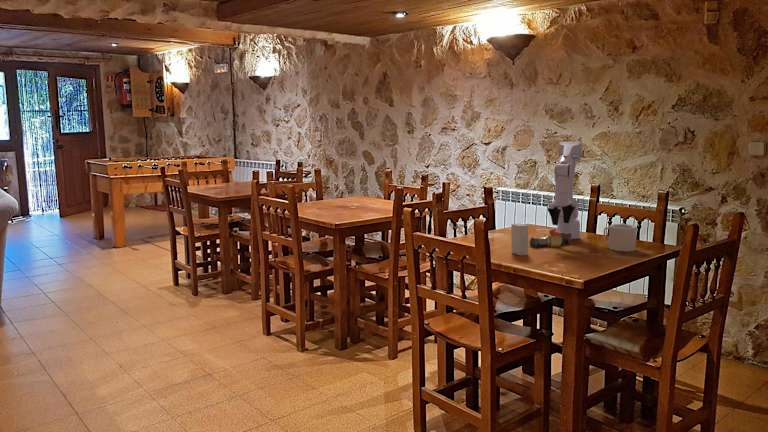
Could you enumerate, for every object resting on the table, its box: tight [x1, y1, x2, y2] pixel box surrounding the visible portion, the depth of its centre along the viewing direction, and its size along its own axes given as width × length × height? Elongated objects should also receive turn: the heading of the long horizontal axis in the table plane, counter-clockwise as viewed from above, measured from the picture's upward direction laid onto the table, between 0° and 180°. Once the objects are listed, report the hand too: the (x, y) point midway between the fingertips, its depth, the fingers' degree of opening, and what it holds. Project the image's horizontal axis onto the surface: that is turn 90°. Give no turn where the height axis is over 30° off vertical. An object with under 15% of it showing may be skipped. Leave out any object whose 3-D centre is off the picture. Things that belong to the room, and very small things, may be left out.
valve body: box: [542, 233, 563, 247], centre depth 265 cm, size 7×5×5 cm
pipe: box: [529, 236, 572, 249], centre depth 265 cm, size 18×5×5 cm, turn 112°
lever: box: [548, 228, 571, 239], centre depth 260 cm, size 12×3×2 cm, turn 22°
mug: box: [602, 223, 638, 253], centre depth 257 cm, size 14×11×10 cm
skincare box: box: [511, 223, 529, 256], centre depth 248 cm, size 6×4×12 cm
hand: (560, 223), depth 260 cm, fingers open, 7 cm apart
